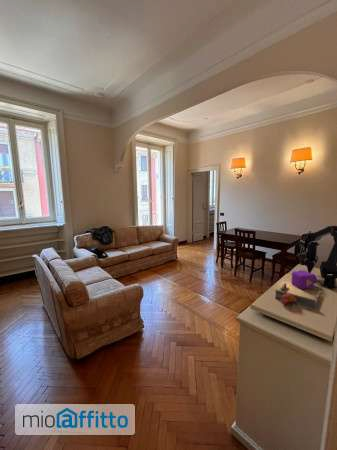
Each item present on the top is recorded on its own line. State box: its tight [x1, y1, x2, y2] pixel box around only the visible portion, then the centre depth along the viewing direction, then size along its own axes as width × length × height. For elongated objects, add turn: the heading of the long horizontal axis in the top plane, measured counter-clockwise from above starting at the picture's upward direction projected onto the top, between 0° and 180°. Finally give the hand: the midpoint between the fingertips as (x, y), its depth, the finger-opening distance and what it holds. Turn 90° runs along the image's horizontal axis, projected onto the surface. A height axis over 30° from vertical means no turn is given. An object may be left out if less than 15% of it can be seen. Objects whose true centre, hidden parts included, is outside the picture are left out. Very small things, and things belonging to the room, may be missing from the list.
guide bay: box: [275, 282, 321, 311], centre depth 120 cm, size 20×19×5 cm
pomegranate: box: [280, 291, 297, 310], centre depth 111 cm, size 7×7×10 cm
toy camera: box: [291, 269, 318, 290], centre depth 133 cm, size 11×14×10 cm
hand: (310, 271), depth 148 cm, fingers open, 9 cm apart
